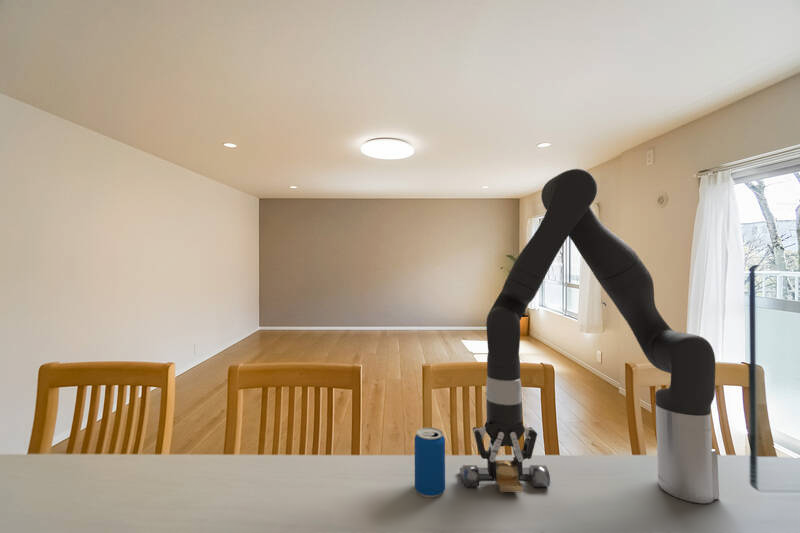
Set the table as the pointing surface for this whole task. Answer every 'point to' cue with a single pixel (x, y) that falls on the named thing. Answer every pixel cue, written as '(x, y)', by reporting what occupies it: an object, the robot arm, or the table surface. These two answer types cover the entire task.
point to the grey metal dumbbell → (473, 474)
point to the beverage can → (429, 462)
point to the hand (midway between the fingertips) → (505, 476)
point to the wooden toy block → (507, 476)
